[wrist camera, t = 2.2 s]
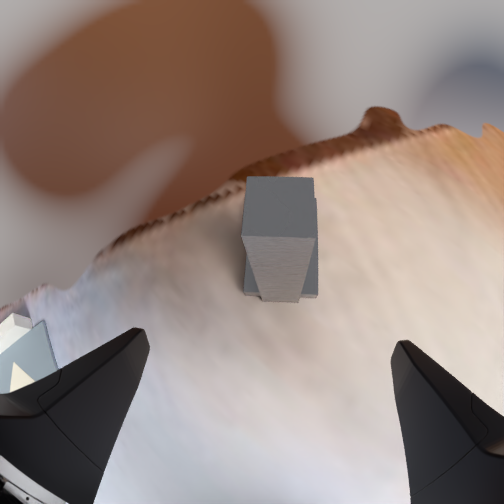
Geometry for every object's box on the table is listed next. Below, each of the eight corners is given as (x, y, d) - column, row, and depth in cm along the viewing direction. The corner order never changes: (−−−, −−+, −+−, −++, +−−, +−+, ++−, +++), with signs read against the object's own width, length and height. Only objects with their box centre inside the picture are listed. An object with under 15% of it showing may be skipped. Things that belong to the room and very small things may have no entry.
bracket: (316, 303, 21) (351, 239, 10) (244, 300, 22) (205, 235, 11) (314, 205, 24) (331, 97, 13) (253, 203, 25) (231, 96, 14)
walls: (76, 450, 17) (57, 455, 14) (20, 463, 16) (4, 465, 13) (30, 318, 23) (12, 312, 20) (-15, 357, 21) (-30, 353, 19)
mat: (91, 446, 17) (88, 446, 17) (24, 462, 16) (22, 462, 15) (44, 321, 23) (42, 320, 22) (-9, 363, 21) (-12, 363, 21)
